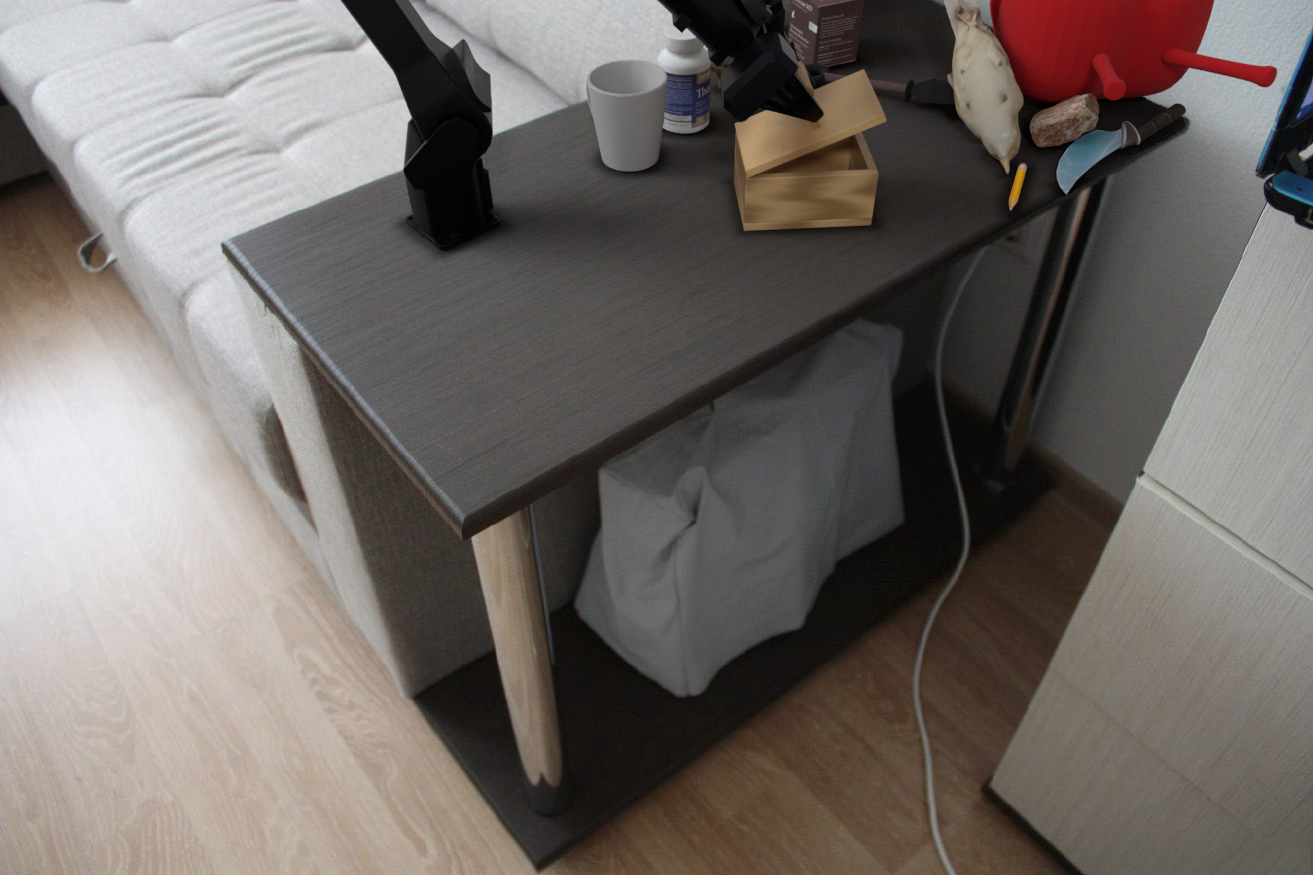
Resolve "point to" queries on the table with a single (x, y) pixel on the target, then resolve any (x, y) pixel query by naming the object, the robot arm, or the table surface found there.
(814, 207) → the box
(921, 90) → the kunai knife
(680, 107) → the pill bottle
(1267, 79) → the novelty television
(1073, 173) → the knife
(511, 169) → the table surface
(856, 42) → the box
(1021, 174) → the pencil
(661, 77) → the cup
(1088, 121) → the stone
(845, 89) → the lid
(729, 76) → the robot arm
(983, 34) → the sculpture
